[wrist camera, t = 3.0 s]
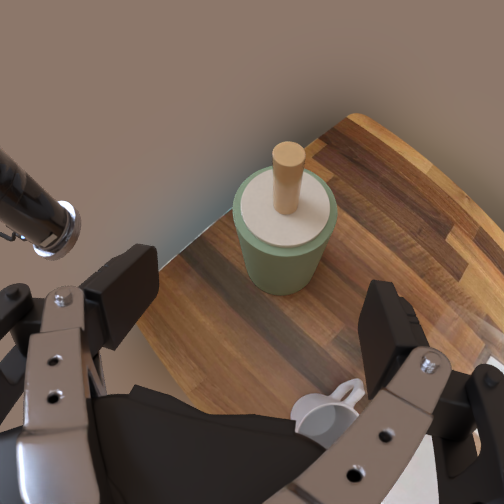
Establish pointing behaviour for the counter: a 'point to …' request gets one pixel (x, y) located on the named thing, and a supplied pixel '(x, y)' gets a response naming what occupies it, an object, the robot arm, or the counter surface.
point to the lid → (285, 201)
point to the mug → (327, 413)
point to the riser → (281, 250)
